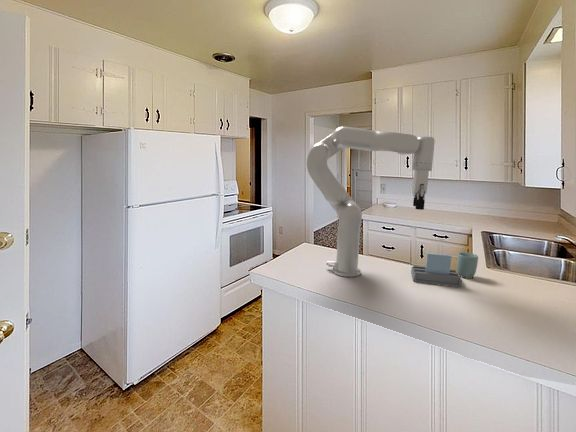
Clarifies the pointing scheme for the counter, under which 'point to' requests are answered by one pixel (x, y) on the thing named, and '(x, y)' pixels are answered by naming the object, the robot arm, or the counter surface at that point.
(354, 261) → the robot arm
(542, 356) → the counter surface
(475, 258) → the cup
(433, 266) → the light blue upright panel
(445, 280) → the rack
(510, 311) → the counter surface
